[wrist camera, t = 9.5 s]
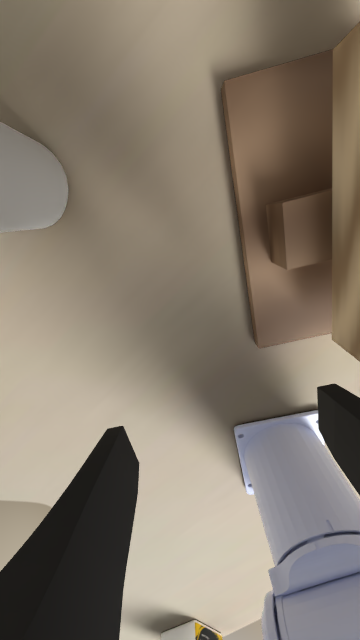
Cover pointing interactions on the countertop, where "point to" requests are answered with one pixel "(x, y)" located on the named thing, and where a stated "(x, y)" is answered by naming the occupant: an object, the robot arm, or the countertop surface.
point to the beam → (346, 194)
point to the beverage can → (29, 183)
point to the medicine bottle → (191, 632)
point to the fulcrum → (284, 194)
